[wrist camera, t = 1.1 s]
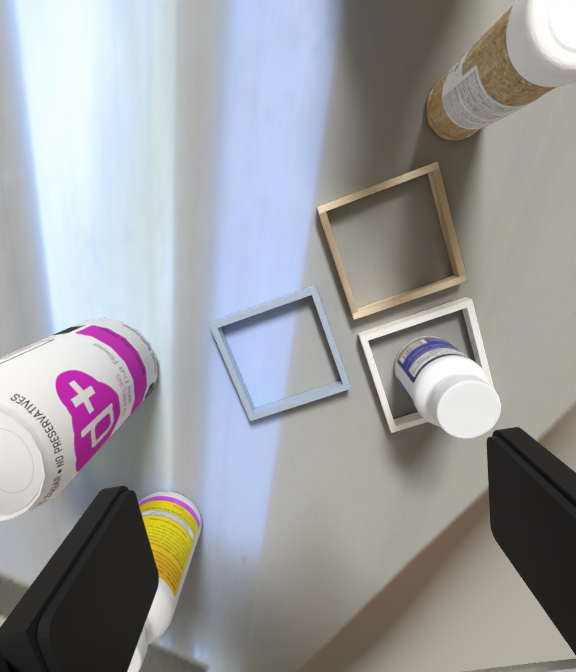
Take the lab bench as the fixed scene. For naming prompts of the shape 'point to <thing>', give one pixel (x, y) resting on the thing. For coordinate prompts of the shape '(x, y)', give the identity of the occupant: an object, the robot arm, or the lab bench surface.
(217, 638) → the lab bench surface
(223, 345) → the tray slate
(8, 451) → the supplement can
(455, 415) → the pill bottle
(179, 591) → the supplement bottle
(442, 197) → the tray birch
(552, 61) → the sprinkles bottle
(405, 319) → the tray white
